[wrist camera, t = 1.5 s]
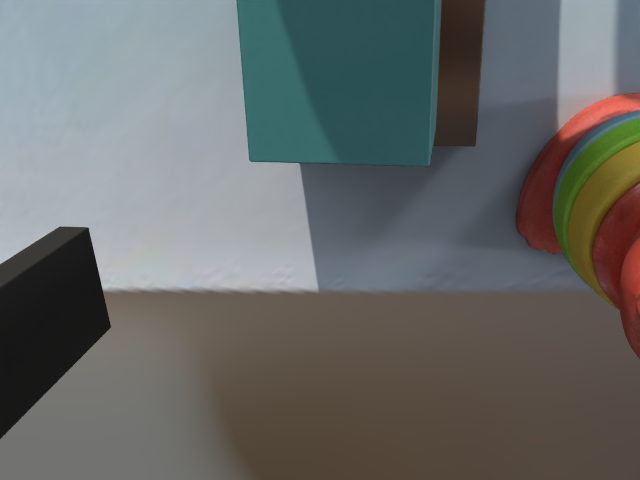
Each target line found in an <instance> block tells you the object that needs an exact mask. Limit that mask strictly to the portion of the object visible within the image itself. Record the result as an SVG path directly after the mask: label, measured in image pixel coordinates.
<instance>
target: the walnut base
mask: <svg viewBox="0 0 640 480" xmlns="http://www.w3.org/2000/svg"><path fill="white" fill-rule="evenodd" d="M485 6H486V0H442V2H441V25H440V47H439V70H438V92H437V115H436V131H435V137H434V143H433V146H471V147H475V146H476V132H477V118H478V104H479V90H480V76H481V62H482V48H483V34H484V20H485Z"/></svg>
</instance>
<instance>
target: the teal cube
mask: <svg viewBox="0 0 640 480" xmlns="http://www.w3.org/2000/svg"><path fill="white" fill-rule="evenodd" d="M441 2H442V0H237V11H238V24H239V36H240V49H241V61H242V74H243V86H244V99H245V111H246V124H247V136H248V149H249V160H250V161H251V162H285V163H319V164H354V165H388V166H423V167H428V166H429V165H430V160H431V155H432V149H433V143H434V137H435V131H436V115H437V92H438V70H439V47H440V25H441Z"/></svg>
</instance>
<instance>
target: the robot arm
mask: <svg viewBox="0 0 640 480" xmlns="http://www.w3.org/2000/svg"><path fill="white" fill-rule="evenodd" d="M110 328H111V325H110V321H109V316H108V312H107V308H106V303H105V299H104V294H103V290H102V286H101V281H100V277H99V272H98V268H97V264H96V259H95V255H94V250H93V246H92V242H91V237H90V233H89V228H86V227H59V228H57V229H55V230H54V231H52V232H51V233H49V234H47V235H46V236H44V237H43V238H41V239H40V240H38V241H36V242H35V243H33V244H32V245H30V246H29V247H27V248H25V249H24V250H22V251H21V252H19V253H18V254H16V255H14V256H13V257H11V258H10V259H8V260H6V261H5V262H3V263H2V264H0V439H1V438H2V437H3V435H5V434H6V432H7V431H8V430H10V429H11V428H12V426H13V425H15V424H16V423H17V422H18V421H19V419H20V418H21V417H22V416H23V415H24V414H25V413H26V412H27V411H28V410H29V409H30V408H31V407H32V406H33V405H34V404H35V403H36V402H37V401H38V400H39V399H40V398H41V397H42V396H43V395H44V394H45V393H46V392H47V391H48V390H49V389H50V388H51V387H52V386H53V385H54V384H55V383H56V382H57V381H58V380H59V379H60V378H61V377H62V376H63V375H64V374H65V373H66V372H67V371H68V370H69V369H70V368H71V367H72V366H73V365H74V364H75V363H76V362H77V361H78V360H79V359H80V358H81V357H82V356H83V355H84V354H85V353H86V352H87V351H88V350H89V349H90V348H91V347H92V346H93V345H94V344H95V343H96V342H97V341H98V340H99V339H100V338H101V337H102V336H103V335H104V334H105V333H106V332H107V331H108V330H109V329H110Z"/></svg>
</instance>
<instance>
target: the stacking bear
mask: <svg viewBox="0 0 640 480" xmlns="http://www.w3.org/2000/svg"><path fill="white" fill-rule="evenodd" d="M516 225H517V229H518V232H519V233H520V234H521V235H522V236H523V237H525V238H526V241H527V243H528V245H529V246H530V247H532V248H533V249H536V250H546V251H548V252H549V253H562V252H563V253H564V255H565V257H566V259H567V260H568V262H569V263H570V265H571V266H572V267H573V269H574V270H575V271H576V273H577V274H578V275H579V276H580V277H581V278H582V279H583V280H584V282H585V283H587V284H588V285H589V286H590V287H591V288H592V289H594V291H595V292H597V293H598V294H599V295H600V296H601V297H602V298H604V299H605V300H606V301H607V302H609V303H610V304H611V305H613V306H614V307H616V308H618V309H619V310H620V313H621V319H622V324H623V328H624V331H625V335H626V338H627V340H628V342H629V344H630V346H631V348H632V349H633V351H634V352H635V353H636V354H637V356H638V357H639V359H640V93H633V94H624V95H618V96H614V97H610V98H607V99H604V100H602V101H599V102H597V103H595V104H593V105H591V106H589V107H587V108H585V109H584V110H582V111H581V112H580V113H578V114H577V115H575V116H574V117H573V118H572V119H571V120H570V121H569V122H567V123H566V124H565V125H564V126H563V127H562V128H561V129H560V130H559V131H558V132H557V133H556V135H555V136H554V137H553V138H552V139H551V140H550V142H549V143H548V144H547V145H546V146H545V148H544V149H543V151H542V152H541V154H540V155H539V157H538V158H537V160H536V161H535V163H534V165H533V166H532V168H531V170H530V172H529V174H528V176H527V179H526V181H525V184H524V186H523V189H522V192H521V196H520V199H519V204H518V209H517V216H516Z"/></svg>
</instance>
